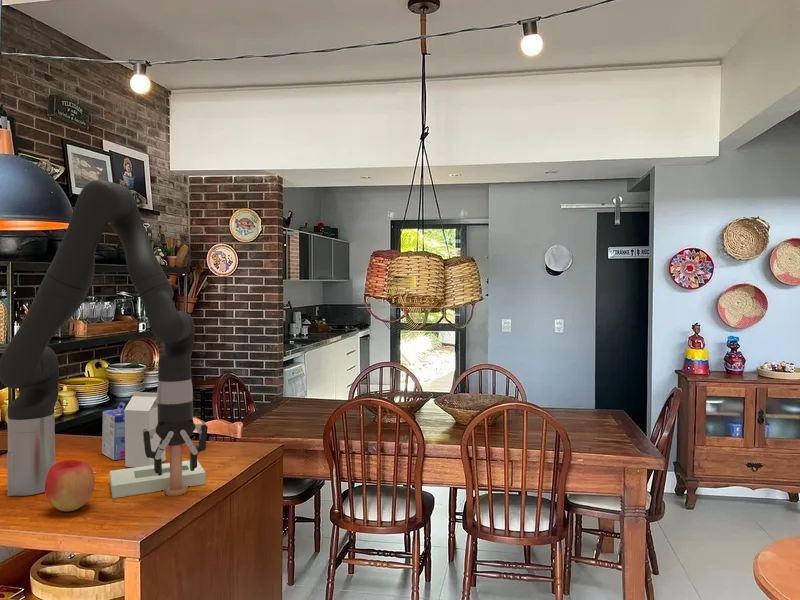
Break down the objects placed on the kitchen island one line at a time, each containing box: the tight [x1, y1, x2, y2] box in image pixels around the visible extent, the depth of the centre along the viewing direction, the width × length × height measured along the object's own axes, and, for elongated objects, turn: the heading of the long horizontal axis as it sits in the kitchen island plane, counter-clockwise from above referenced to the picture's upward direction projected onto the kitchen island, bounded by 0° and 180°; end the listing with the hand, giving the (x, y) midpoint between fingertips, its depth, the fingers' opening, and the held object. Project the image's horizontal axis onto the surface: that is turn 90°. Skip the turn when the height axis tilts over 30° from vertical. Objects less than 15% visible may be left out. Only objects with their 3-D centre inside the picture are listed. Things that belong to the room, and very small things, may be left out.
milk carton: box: [124, 391, 166, 468], centre depth 158 cm, size 7×7×19 cm
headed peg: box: [164, 444, 188, 497], centre depth 136 cm, size 5×5×11 cm
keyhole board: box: [109, 459, 207, 499], centre depth 143 cm, size 20×12×3 cm, turn 118°
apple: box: [44, 459, 96, 512], centre depth 126 cm, size 10×10×10 cm
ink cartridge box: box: [101, 401, 127, 461], centre depth 166 cm, size 10×6×14 cm, turn 44°
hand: (176, 472), depth 136 cm, fingers open, 6 cm apart
